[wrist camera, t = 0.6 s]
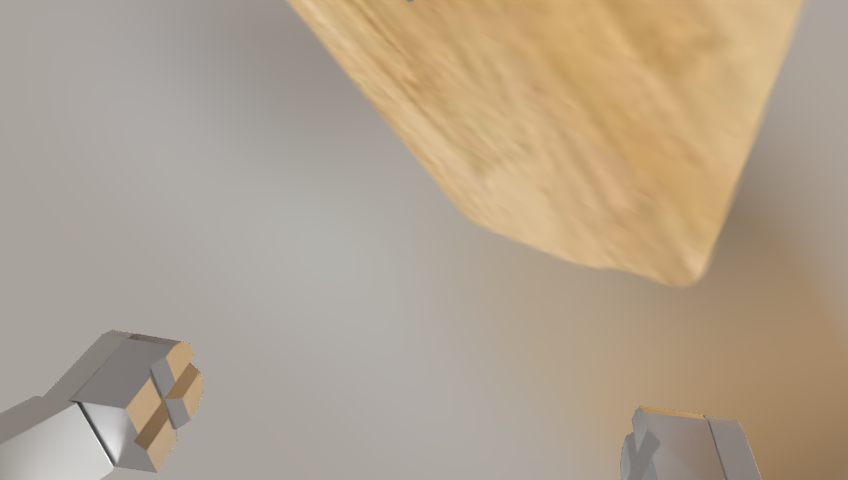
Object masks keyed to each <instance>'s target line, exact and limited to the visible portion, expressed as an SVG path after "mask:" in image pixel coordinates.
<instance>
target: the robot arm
mask: <svg viewBox="0 0 848 480" xmlns="http://www.w3.org/2000/svg"><path fill="white" fill-rule="evenodd" d="M193 357H194V354H193V351H192V349H191V346H190V344H189V343H186V342H181V341H175V340H169V339H164V338H157V337H152V336H146V335H141V334H134V333H128V332H121V331H115V330H111V331H109V332H107V333H105V334H102V335H101V336H100V337H99V339H98V340H97V341H96V342H95V343H94V344H93V345H92V346H91V347H90V348H89V349H88V350H87V351H86V352H85V353H84V355H82V356H81V357H80V359H79V360H78V361H77V362H76V363H75V364H74V365H73V366H72V367H71V368H70V369H69V370H68V371H67V372H66V373H65V374H64V376H62V377H61V379H60V380H59V381H58V382H57V383H56V384H55V385H54V386H53V387H52V388H51V389H50V390H49V391H48V392H47V393H46V394H45V395H44V396H43V397H40V396H34V397H32V398H30V399H29V400H26V401H25V402H22V403H20V404H18V405H16V406H14V407H12V408H10V409H9V410H6V411H4V412H3V413H1V414H0V480H100V479H102V478H103V477H104V476H106V475H107V474H108V473H110V472H111V471H112V470H114V467H113V466H116V467H123V468H129V469H136V470H142V471H149V472H155V473H157V472H158V471H159V469H160V467H161V466H162V464H163V463H164V461H165V460H166V458H167V457H168V455H169V453H170V452H171V450H172V449H173V447H174V446H175V444H176V442H177V429H178V428H179V427H181V426H182V425H184V424H186V423H187V422H189V421H190V420H191V419H192V417H193V415H194V414H195V412H196V410H197V409H198V407H199V404H200V401H201V397H202V394H203V379H202V376H201V373H200V371H199V370H198V369H196V368H195V367H194V366H193V365H192V364H191V363H190V361H191V360H192V358H193ZM632 424H633V430H634V432H633V433H631V434H629V435H627V436H626V438H625V441H624V444H623V447H622V453H621V463H620V469H621V470H620V471H621V480H762V478H761V475H760V473H759V470H758V467H757V465H756V462H755V459H754V457H753V454H752V451H751V449H750V446H749V443H748V441H747V438H746V435H745V433H744V430H743V427H742V425H741V424H740V423H739V422H738V421H737V420H734V419H727V418H720V417H713V416H706V415H701V414H696V413H688V412H680V411H673V410H665V409H657V408H650V407H641V406H639V408H637V409H636V411H635V413H634V416H633V418H632Z"/></svg>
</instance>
